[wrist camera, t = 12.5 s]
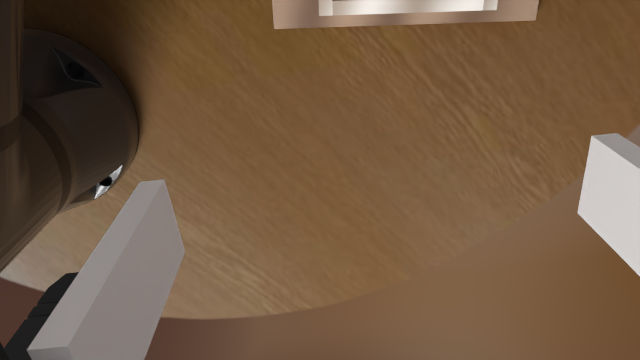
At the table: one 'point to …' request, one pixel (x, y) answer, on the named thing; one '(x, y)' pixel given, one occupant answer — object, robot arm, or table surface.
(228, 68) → the table surface
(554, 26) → the table surface
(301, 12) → the base
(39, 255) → the table surface
